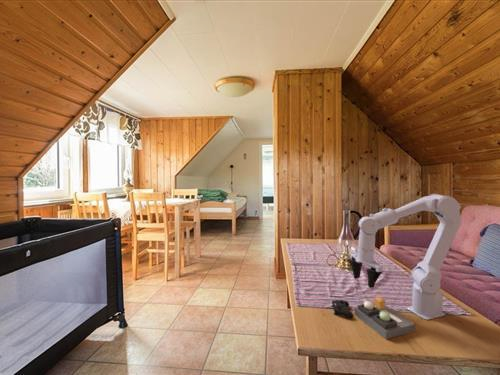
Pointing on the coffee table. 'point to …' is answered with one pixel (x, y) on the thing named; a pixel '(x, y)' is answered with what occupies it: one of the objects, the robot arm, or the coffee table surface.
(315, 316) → the coffee table surface
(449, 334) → the coffee table surface
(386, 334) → the control panel
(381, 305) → the slider knob
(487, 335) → the coffee table surface
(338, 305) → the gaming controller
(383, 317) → the green button
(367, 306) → the white button
